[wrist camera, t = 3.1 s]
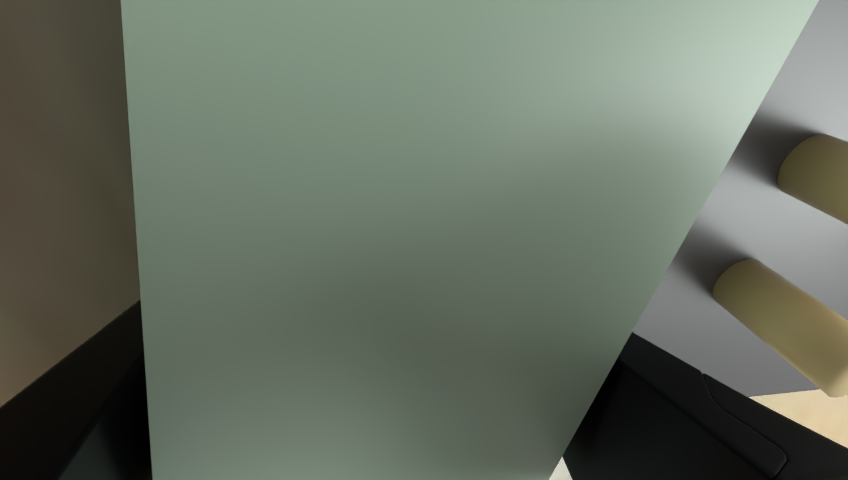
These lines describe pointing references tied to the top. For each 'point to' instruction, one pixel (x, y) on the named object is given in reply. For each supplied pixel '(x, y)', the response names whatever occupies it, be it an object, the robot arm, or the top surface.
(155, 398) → the board
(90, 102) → the top surface
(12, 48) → the top surface
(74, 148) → the top surface
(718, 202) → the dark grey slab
